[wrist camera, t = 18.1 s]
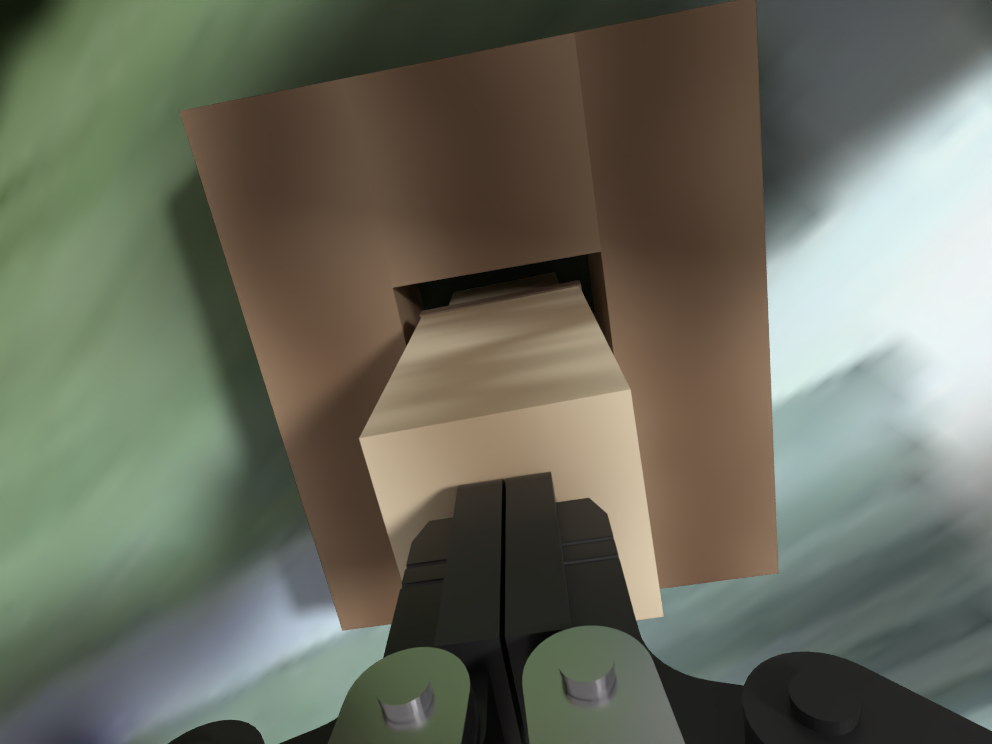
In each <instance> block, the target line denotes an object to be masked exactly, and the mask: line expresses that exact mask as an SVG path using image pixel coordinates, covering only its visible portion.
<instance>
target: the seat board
mask: <svg viewBox="0 0 992 744" xmlns="http://www.w3.org/2000/svg"><path fill="white" fill-rule="evenodd" d="M180 115H181V118H182V121H183V124H184V127H185V130H186V134H187V137H188V140H189V143H190V146H191V150H192V153H193V156H194V159H195V162H196V166H197V169H198V172H199V175H200V178H201V181H202V185H203V188H204V191H205V194H206V197H207V201H208V204H209V207H210V210H211V213H212V217H213V220H214V223H215V226H216V229H217V232H218V236H219V239H220V242H221V245H222V248H223V252H224V255H225V258H226V261H227V264H228V268H229V271H230V274H231V277H232V280H233V283H234V287H235V290H236V293H237V296H238V299H239V303H240V306H241V309H242V312H243V315H244V319H245V322H246V325H247V328H248V331H249V334H250V338H251V341H252V344H253V347H254V350H255V354H256V357H257V360H258V363H259V366H260V370H261V373H262V376H263V379H264V382H265V385H266V389H267V392H268V395H269V398H270V401H271V405H272V408H273V411H274V414H275V417H276V421H277V424H278V427H279V430H280V433H281V436H282V440H283V443H284V446H285V449H286V452H287V456H288V459H289V462H290V465H291V468H292V472H293V475H294V478H295V481H296V484H297V487H298V491H299V494H300V497H301V500H302V503H303V507H304V510H305V513H306V516H307V519H308V523H309V526H310V529H311V532H312V535H313V538H314V542H315V545H316V548H317V551H318V554H319V558H320V561H321V564H322V567H323V570H324V574H325V577H326V580H327V583H328V586H329V589H330V593H331V596H332V599H333V602H334V605H335V609H336V612H337V615H338V618H339V621H340V625H341V628H342V630H350V629H357V628H365V627H373V626H380V625H388V624H392V620H393V616H394V612H395V608H396V604H397V600H398V596H399V592H400V589H402V580H401V576H400V573H399V570H398V566H397V563H396V560H395V556H394V553H393V550H392V546H391V543H390V540H389V536H388V533H387V530H386V526H385V523H384V520H383V517H382V513H381V510H380V507H379V503H378V500H377V497H376V493H375V490H374V487H373V483H372V480H371V477H370V473H369V470H368V467H367V463H366V460H365V457H364V453H363V450H362V447H361V443H360V440H359V437H360V436H361V434H362V432H363V430H364V428H365V426H366V424H367V422H368V420H369V418H370V416H371V414H372V412H373V410H374V408H375V406H376V405H377V403H378V401H379V399H380V397H381V395H382V393H383V391H384V389H385V387H386V385H387V383H388V381H389V379H390V377H391V376H392V374H393V372H394V370H395V368H396V366H397V364H398V362H399V360H400V358H401V356H402V354H403V352H404V350H405V348H406V346H407V345H408V343H409V341H410V339H411V337H412V335H413V333H414V331H415V329H416V327H417V325H418V323H419V321H420V314H421V312H422V311H424V307H423V303H422V298H421V293H420V289H419V284H418V283H422V282H428V281H434V280H440V279H445V278H451V277H457V276H463V275H469V274H474V273H480V272H486V271H492V270H498V269H503V268H509V267H515V266H521V265H526V264H532V263H538V262H544V261H550V260H555V259H561V258H567V257H573V256H579V255H584V254H587V257H588V264H589V272H590V280H591V288H592V295H593V303H594V311H595V318H596V321H597V323H598V325H599V327H600V329H601V331H602V333H603V335H604V337H605V339H606V341H607V343H608V345H609V347H610V349H611V351H612V353H613V355H614V357H615V359H616V361H617V363H618V365H619V367H620V369H621V371H622V373H623V375H624V377H625V379H626V381H627V383H628V385H629V387H630V389H631V396H632V403H633V409H634V416H635V423H636V430H637V437H638V444H639V451H640V458H641V465H642V471H643V478H644V485H645V492H646V499H647V506H648V513H649V520H650V526H651V533H652V540H653V547H654V554H655V561H656V568H657V575H658V581H659V588H660V589H662V588H669V587H677V586H684V585H692V584H700V583H707V582H715V581H722V580H730V579H738V578H745V577H753V576H760V575H768V574H776V573H778V553H777V528H776V502H775V476H774V451H773V425H772V400H771V374H770V348H769V323H768V297H767V271H766V246H765V220H764V195H763V169H762V143H761V118H760V92H759V67H758V41H757V15H756V0H734V1H729V2H724V3H719V4H714V5H709V6H704V7H699V8H694V9H689V10H684V11H679V12H674V13H669V14H664V15H659V16H654V17H649V18H644V19H639V20H634V21H629V22H624V23H619V24H614V25H609V26H604V27H599V28H594V29H589V30H584V31H579V32H574V33H569V34H564V35H559V36H554V37H549V38H544V39H539V40H534V41H529V42H524V43H519V44H514V45H508V46H503V47H498V48H493V49H488V50H483V51H478V52H473V53H468V54H463V55H458V56H453V57H448V58H443V59H438V60H433V61H428V62H423V63H418V64H413V65H408V66H403V67H398V68H393V69H388V70H383V71H378V72H373V73H368V74H363V75H358V76H353V77H348V78H343V79H338V80H333V81H328V82H323V83H318V84H313V85H308V86H303V87H298V88H293V89H288V90H283V91H278V92H273V93H268V94H263V95H258V96H253V97H248V98H243V99H238V100H233V101H228V102H223V103H217V104H212V105H207V106H202V107H197V108H192V109H187V110H182V111H180Z"/></svg>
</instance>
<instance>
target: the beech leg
mask: <svg viewBox="0 0 992 744" xmlns="http://www.w3.org/2000/svg"><path fill="white" fill-rule="evenodd" d="M359 440H360V443H361V447H362V450H363V453H364V457H365V460H366V463H367V467H368V470H369V473H370V477H371V480H372V483H373V487H374V490H375V493H376V497H377V500H378V503H379V507H380V510H381V513H382V517H383V520H384V523H385V526H386V530H387V533H388V536H389V540H390V543H391V546H392V550H393V553H394V556H395V560H396V563H397V566H398V570H399V573H400V576H401V580H403V575H404V571H405V569H407V567H406V563H407V559H408V555H409V551H410V547H411V543H412V541H413V540H414V539H415V537H416V536H417V535H418V534H419V533H420V531H421V530H422V529H423V528H424V527H425V525H426V524H427V523H428V522H429V521H432V520H438V519H445V518H452V517H453V514H454V508H455V501H456V494H457V488H458V486H459V485H464V484H471V483H477V482H484V481H491V480H498V479H504V482H505V485H506V478H510V477H517V476H524V475H530V474H537V473H544V472H551V474H552V479H553V485H554V491H555V497H556V502H562V501H569V500H576V499H583V498H590V499H591V500H592V501H594V502H595V503H596V504H597V505H598V506H599V507H600V508H601V509H603V510H604V511H605V512H606V513H607V514H608V518H609V521H610V525H611V529H612V532H613V537H614V540H615V544H616V547H617V551H618V555H619V559H620V562H621V566H622V570H623V573H624V577H625V581H626V584H627V588H628V592H629V596H630V599H631V603H632V607H633V610H634V614H635V618H636V621H637V620H643V619H650V618H657V617H663V609H662V602H661V595H660V588H659V581H658V575H657V568H656V561H655V554H654V547H653V540H652V533H651V526H650V520H649V513H648V506H647V499H646V492H645V485H644V478H643V471H642V465H641V458H640V451H639V444H638V437H637V430H636V423H635V416H634V409H633V403H632V396H631V389H630V387H629V385H628V383H627V381H626V379H625V377H624V375H623V373H622V371H621V369H620V367H619V365H618V363H617V361H616V359H615V357H614V355H613V353H612V351H611V349H610V347H609V345H608V343H607V341H606V339H605V337H604V335H603V333H602V331H601V329H600V327H599V325H598V323H597V321H596V319H595V317H594V315H593V313H592V311H591V309H590V307H589V305H588V303H587V301H586V299H585V297H584V295H583V293H582V288H581V283H580V281H579V280H576V281H571V282H566V283H561V284H559V282H558V279H557V276H556V273H555V272H553V273H548V274H543V275H538V276H533V277H528V278H523V279H518V280H513V281H508V282H503V283H498V284H493V285H487V286H482V287H477V288H472V289H467V290H462V291H457V292H454V293H453V296H452V298H451V301H450V304H449V306H444V307H439V308H434V309H429V310H424V311H422V312H421V314H420V321H419V323H418V325H417V327H416V329H415V331H414V333H413V335H412V337H411V339H410V341H409V343H408V345H407V346H406V348H405V350H404V352H403V354H402V356H401V358H400V360H399V362H398V364H397V366H396V368H395V370H394V372H393V374H392V376H391V377H390V379H389V381H388V383H387V385H386V387H385V389H384V391H383V393H382V395H381V397H380V399H379V401H378V403H377V405H376V406H375V408H374V410H373V412H372V414H371V416H370V418H369V420H368V422H367V424H366V426H365V428H364V430H363V432H362V434H361V436H360V437H359Z"/></svg>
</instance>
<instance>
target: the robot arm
mask: <svg viewBox="0 0 992 744" xmlns="http://www.w3.org/2000/svg"><path fill="white" fill-rule="evenodd" d="M406 567H407V569H405V571H404V575H403V580H402V589H400V592H399V596H398V600H397V604H396V608H395V612H394V616H393V620H392V624H391V629H390V633H389V637H388V641H387V645H386V649H385V653H384V657H383V659H381V660H379V661H378V662H376V663H375V664H373V665H372V666H370V667H369V668H368V669H367V670H366V671H365V672H363V673H362V674H361V675H360V677H359V678H358V679H357V680H356V681H355V682H354V684H353V685H352V687H351V688H350V690H349V691H348V694H347V696H346V698H345V700H344V703H343V705H342V708H341V710H340V713H339V716H338V718H336V719H335V720H333V721H331V722H329V723H328V724H325V725H323V726H321V727H319V728H317V729H314V730H312V731H309V732H307V733H304V734H302V735H299V736H297V737H295V738H292V739H290V740H287V741H285V742H282V743H280V744H992V731H990V730H988V729H986V728H984V727H982V726H980V725H978V724H976V723H974V722H972V721H970V720H968V719H966V718H964V717H962V716H960V715H958V714H956V713H954V712H952V711H950V710H948V709H946V708H944V707H942V706H940V705H938V704H936V703H934V702H932V701H930V700H928V699H926V698H924V697H922V696H920V695H918V694H916V693H914V692H912V691H911V690H909V689H907V688H905V687H903V686H901V685H899V684H897V683H895V682H893V681H891V680H889V679H887V678H885V677H883V676H881V675H879V674H877V673H875V672H873V671H871V670H869V669H867V668H865V667H863V666H861V665H859V664H856V663H854V662H852V661H849V660H847V659H844V658H840V657H837V656H834V655H829V654H824V653H817V652H792V653H786V654H781V655H778V656H775V657H772V658H770V659H768V660H766V661H764V662H762V663H761V664H760V665H758V666H757V667H756V668H755V669H754V670H753V671H752V672H751V674H750V675H749V676H748V678H747V680H746V682H745V685H744V686H742V685H736V684H729V683H722V682H715V681H709V680H704V679H699V678H695V677H692V676H689V675H686V674H683V673H681V672H679V671H677V670H674V669H672V668H671V667H669V666H668V665H666V664H664V663H663V662H661V661H660V660H659V659H658V658H657V657H655V656H654V655H653V654H652V652H651V651H650V650H649V649H648V648H647V646H646V645H645V643H644V642H643V640H642V638H641V635H640V632H639V629H638V625H637V622H636V618H635V614H634V610H633V607H632V603H631V599H630V596H629V592H628V588H627V584H626V581H625V577H624V573H623V570H622V566H621V562H620V559H619V555H618V551H617V547H616V544H615V540H614V537H613V532H612V529H611V525H610V521H609V518H608V514H607V513H606V512H605V511H604V510H603V509H601V508H600V507H599V506H598V505H597V504H596V503H595V502H594V501H592V500H591V499H590V498H583V499H576V500H569V501H562V502H556V497H555V491H554V485H553V479H552V474H551V472H544V473H537V474H530V475H524V476H517V477H510V478H506V485H505V482H504V479H498V480H491V481H484V482H477V483H471V484H464V485H459V486H458V488H457V494H456V501H455V508H454V514H453V517H452V518H445V519H438V520H432V521H429V522H428V523H427V524H426V525H425V527H424V528H423V529H422V530H421V531H420V533H419V534H418V535H417V536H416V537H415V539H414V540H413V541H412V543H411V547H410V551H409V555H408V559H407V563H406ZM168 744H265V743H264V740H263V738H262V736H261V734H260V732H259V731H258V730H257V729H256V728H255V727H254V726H252V725H250V724H249V723H246V722H243V721H238V720H222V721H216V722H212V723H208V724H205V725H202V726H199V727H197V728H195V729H192V730H190V731H188V732H186V733H184V734H182V735H181V736H179V737H177V738H176V739H174V740H173V741H171V742H170V743H168Z"/></svg>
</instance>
